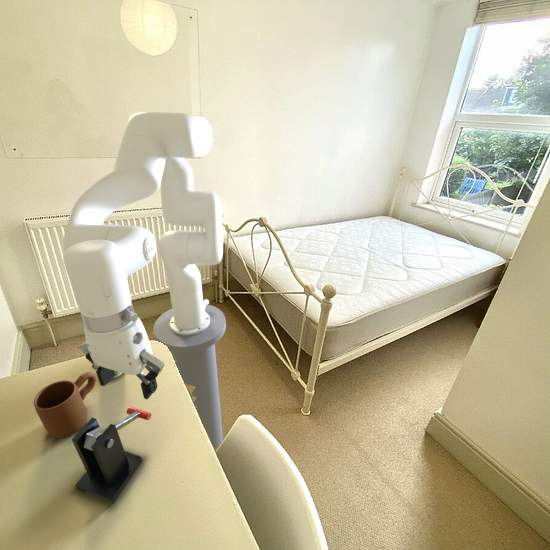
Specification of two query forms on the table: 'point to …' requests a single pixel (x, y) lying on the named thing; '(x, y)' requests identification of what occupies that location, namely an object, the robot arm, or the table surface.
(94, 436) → the lever
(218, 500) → the table surface
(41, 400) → the mug
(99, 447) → the bracket
